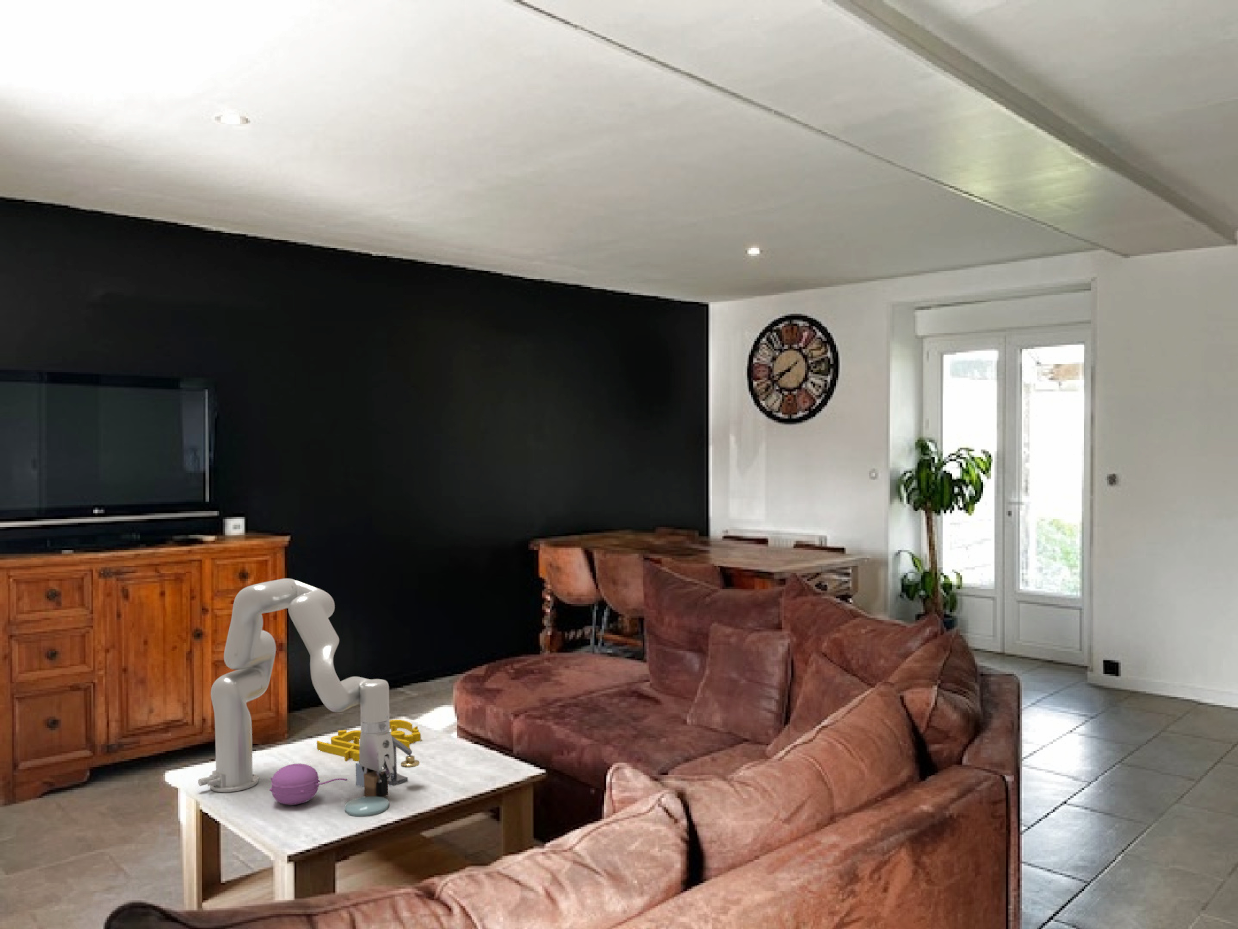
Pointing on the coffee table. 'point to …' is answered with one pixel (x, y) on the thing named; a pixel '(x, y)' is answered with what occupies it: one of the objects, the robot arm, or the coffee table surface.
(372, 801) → the dish
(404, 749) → the balance
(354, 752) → the decorative art
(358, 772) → the greyblue block
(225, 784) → the robot arm
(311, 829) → the coffee table surface
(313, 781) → the purple ovoid with tail
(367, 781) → the walnut block
